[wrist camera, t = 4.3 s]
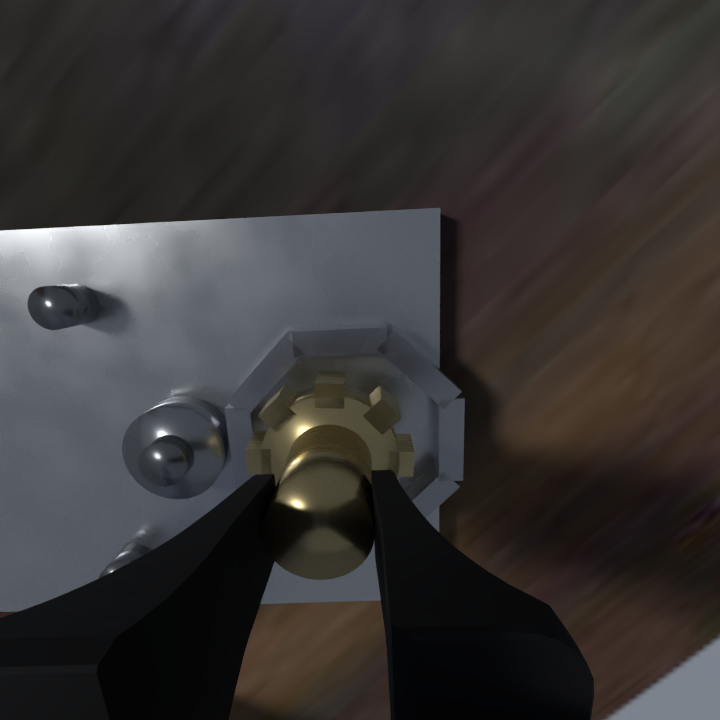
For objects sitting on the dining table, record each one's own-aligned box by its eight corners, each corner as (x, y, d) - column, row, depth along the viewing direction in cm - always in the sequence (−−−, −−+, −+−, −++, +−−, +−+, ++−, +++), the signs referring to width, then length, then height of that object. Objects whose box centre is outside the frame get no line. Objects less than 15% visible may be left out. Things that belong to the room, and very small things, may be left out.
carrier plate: (449, 581, 20) (466, 643, 16) (18, 594, 20) (-48, 657, 17) (454, 210, 15) (477, 196, 12) (-98, 239, 16) (-215, 232, 13)
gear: (405, 510, 16) (424, 623, 11) (261, 508, 16) (215, 620, 11) (413, 372, 14) (438, 433, 9) (252, 369, 14) (194, 429, 9)
